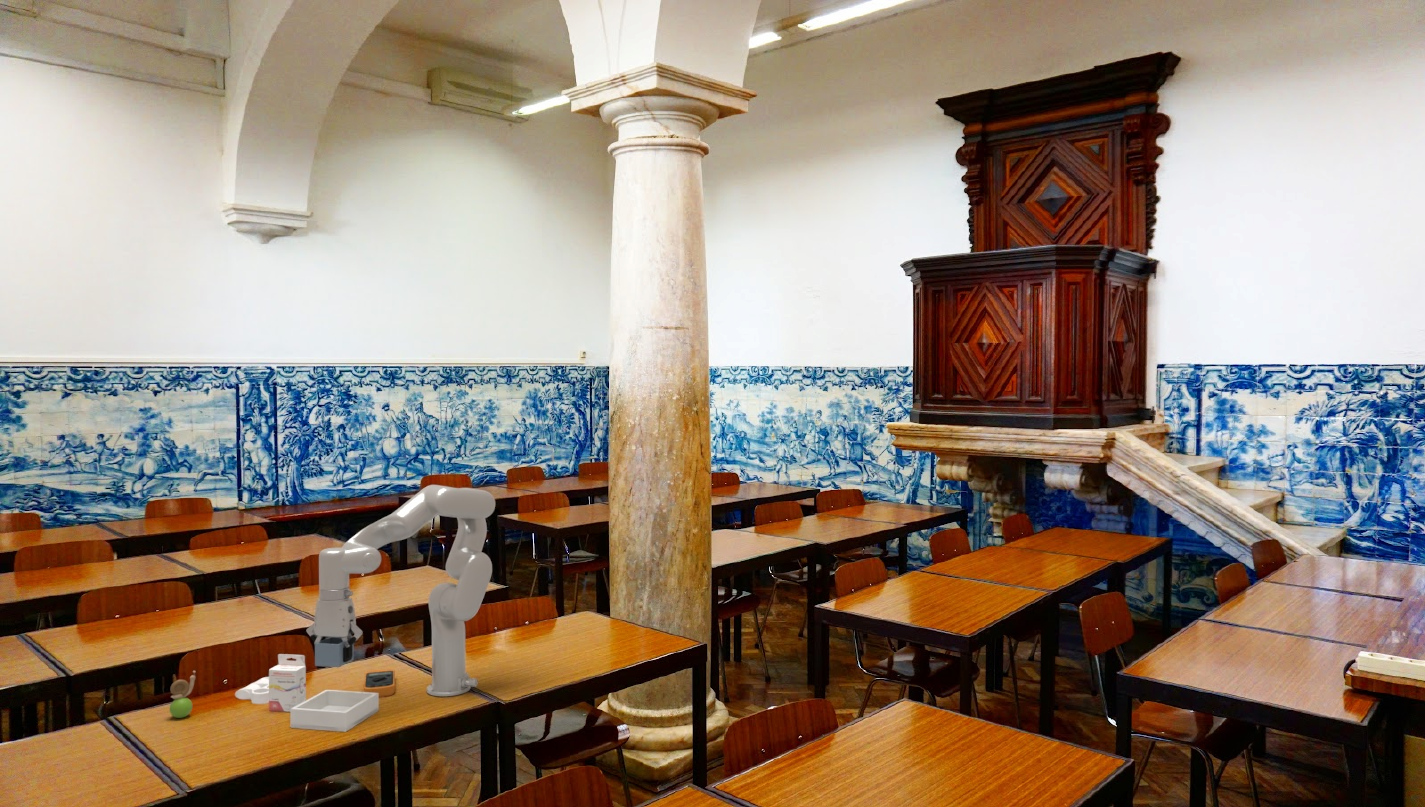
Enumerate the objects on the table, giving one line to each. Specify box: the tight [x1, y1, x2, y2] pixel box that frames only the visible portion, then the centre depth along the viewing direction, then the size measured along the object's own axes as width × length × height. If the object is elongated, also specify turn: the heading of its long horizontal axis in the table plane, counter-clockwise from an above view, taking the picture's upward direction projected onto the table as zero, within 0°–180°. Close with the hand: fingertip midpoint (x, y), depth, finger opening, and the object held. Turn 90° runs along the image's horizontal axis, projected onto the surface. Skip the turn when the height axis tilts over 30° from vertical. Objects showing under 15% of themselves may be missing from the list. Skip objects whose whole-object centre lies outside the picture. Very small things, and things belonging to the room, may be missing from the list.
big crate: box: [289, 689, 380, 733], centre depth 255 cm, size 16×16×5 cm
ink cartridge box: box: [268, 653, 307, 713], centre depth 263 cm, size 9×5×15 cm, turn 84°
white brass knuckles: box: [234, 676, 269, 705], centre depth 277 cm, size 3×18×15 cm
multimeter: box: [363, 668, 396, 698], centre depth 281 cm, size 9×18×3 cm, turn 19°
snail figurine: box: [169, 670, 196, 719], centre depth 257 cm, size 5×6×12 cm
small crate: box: [314, 637, 355, 668], centre depth 255 cm, size 7×7×6 cm
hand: (334, 659), depth 255 cm, fingers closed on small crate, 7 cm apart
